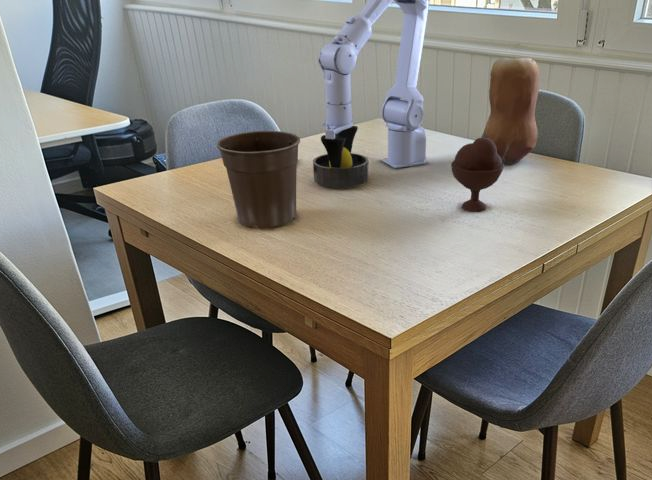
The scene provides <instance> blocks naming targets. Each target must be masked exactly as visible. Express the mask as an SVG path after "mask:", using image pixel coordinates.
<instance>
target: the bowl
mask: <svg viewBox="0 0 652 480" xmlns="http://www.w3.org/2000/svg"><path fill="white" fill-rule="evenodd" d="M351 157H352V167H349V168H330V167H329V157H328V154H327V153H324V154H321V155H318V156H316V157H314V159H313V160H312V171H313V172H312V173H313V174H312V175H313V182H314V183H315V184H317V185H318V186H321V187H325V188H331V189H350V188H355V187H358V186H362V185H364V184H366V183H367V182H369V179H370V161H369V158H368V157H367V156H365V155H364V154H359V153H355V152H354V153H353V152H351Z"/></svg>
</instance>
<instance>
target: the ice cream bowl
mask: <svg viewBox="0 0 652 480" xmlns="http://www.w3.org/2000/svg"><path fill="white" fill-rule="evenodd" d="M504 167H505V162H503V161H502V160H501V157H500V156H499V155H498V154H497V148H496V145H495V144H494V142H493V141H492V140H491V139H488V138H484V137H478V138H476V139H475V140H474V141H473V142H472V143H467V144H465V145H463V146H462V147H460V148H459V150H458V151H457V153H456V154H455V157H454V160H453V161H452V162H451V163H450V168H451V173H452V175H453V177H454V179H455V180H456V181H457V182H458V183H459V184H460V185H462V187H464V188H466V189H467V190H469V191H470V199H468V200H466V201H464V202H463V203H462V204H461V209H462V210H463V211H465V212H471V213H481V212H484V211H487V209H488V207H487V204H486V203H484V202H483V201H481V199H480V192H481V191H482V190H485V189H488V188H489V187H491V186H493V185H494V184H495V183H496V182H497V181H498V180H499V179H500V176H501V174H502V173H503V172H504V171H503V170H504Z"/></svg>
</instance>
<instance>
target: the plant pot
mask: <svg viewBox="0 0 652 480" xmlns="http://www.w3.org/2000/svg"><path fill="white" fill-rule="evenodd" d="M300 143H301V137H300V136H298V134H297V135H296V134H295V133H292V132H287V131H281V130H280V131H278V130H253V131H244V132H239V133H235V134H231V135H228V136H225V137H222V138H220V139H219V140H218V141H217V142H216V148H217V149H218V150H219V152H220V155H221V156H220V157H221V159H222V163H223V166H224V167H225V169H226V173H227V178H228V181H229V187H230V189H231V190H230V191H231V195H232V198H233V203H234V207H235V211H236V216H237V221H238V222H239V224H241V226H244V227H247V228H253V227H255V228H258V229H275V228H276V229H277V228H280V227H283V226H286V225H288V224H290V223H292V222H293V220H295V219H296V218H297V162H298V159H299V145H300Z"/></svg>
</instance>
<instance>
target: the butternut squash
mask: <svg viewBox="0 0 652 480" xmlns="http://www.w3.org/2000/svg"><path fill="white" fill-rule="evenodd" d="M489 76H490V77H489V78H490V79H489V91H488V99H489V105H490V106H489V107H490V113H489V114H490V115H489V117H488V119H487V121H486V124H485V126H484V130H483V138H488V139H491V140H492V141H493V142H494V144H495V145H496V148H497V154H498V155H499V156H500V157H501V160H502V162H503V163H506V164H507V163H508V164H515V163H518V162H520V161H522V160H523V159H524V158H525V157H526V156H527V155H529V154H530V153H531V152H532V151H534V149H535V147H536V145H537V142H538V126H537V122H536V117H535V116H536V115H535V112H536V107H537V101H538V96H539V89H540V82H539V81H540V73H539V66H538V64H537V62H536V61H535V60H534V59H532V58H530V57H515V58H509V57H502V58H498V59H496V60H495V61H494V62H493V63H492V66H491V70H490V73H489Z"/></svg>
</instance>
